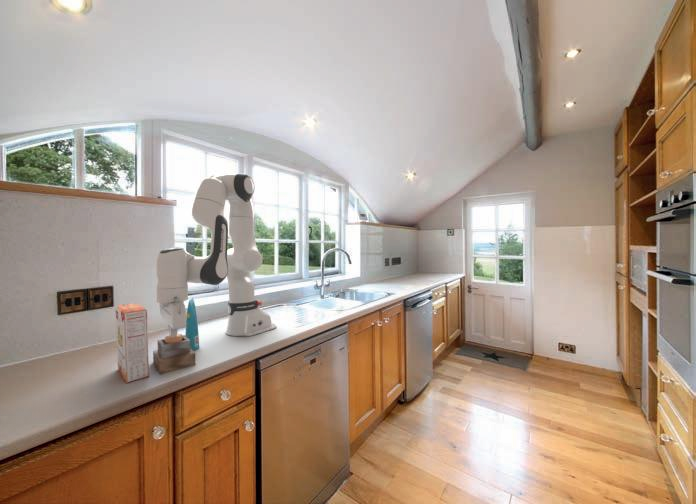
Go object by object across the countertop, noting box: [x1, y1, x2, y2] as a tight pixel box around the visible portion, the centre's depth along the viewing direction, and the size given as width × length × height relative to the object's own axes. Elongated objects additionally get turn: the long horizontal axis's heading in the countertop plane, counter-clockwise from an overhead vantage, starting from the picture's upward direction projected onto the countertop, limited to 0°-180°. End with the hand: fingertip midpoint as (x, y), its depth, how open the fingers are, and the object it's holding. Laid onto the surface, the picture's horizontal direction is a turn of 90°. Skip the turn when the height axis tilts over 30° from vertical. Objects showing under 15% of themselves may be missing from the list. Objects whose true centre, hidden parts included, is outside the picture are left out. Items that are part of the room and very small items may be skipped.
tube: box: [184, 297, 200, 351], centre depth 106 cm, size 7×5×19 cm, turn 25°
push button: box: [164, 333, 183, 344], centre depth 93 cm, size 5×5×5 cm
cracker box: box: [115, 303, 150, 384], centre depth 86 cm, size 14×6×21 cm, turn 47°
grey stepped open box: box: [152, 334, 196, 375], centre depth 93 cm, size 10×12×8 cm
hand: (173, 336), depth 93 cm, fingers closed, pressing on push button
